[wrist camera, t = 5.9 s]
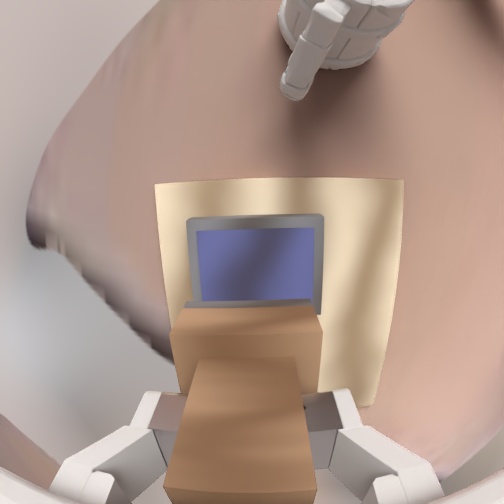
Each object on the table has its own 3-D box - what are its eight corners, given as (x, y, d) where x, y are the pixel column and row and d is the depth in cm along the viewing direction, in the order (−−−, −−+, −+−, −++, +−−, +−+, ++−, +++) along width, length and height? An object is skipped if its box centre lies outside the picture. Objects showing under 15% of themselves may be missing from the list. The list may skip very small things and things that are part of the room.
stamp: (310, 298, 11) (369, 460, 4) (304, 392, 12) (329, 539, 5) (186, 301, 11) (110, 455, 4) (200, 393, 12) (167, 538, 5)
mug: (385, 24, 17) (458, -48, 6) (329, 136, 20) (403, 105, 9) (301, -18, 17) (325, -115, 5) (234, 90, 20) (207, 11, 8)
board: (398, 179, 21) (414, 181, 18) (370, 398, 26) (377, 416, 24) (159, 183, 22) (146, 186, 19) (190, 406, 27) (185, 424, 24)
